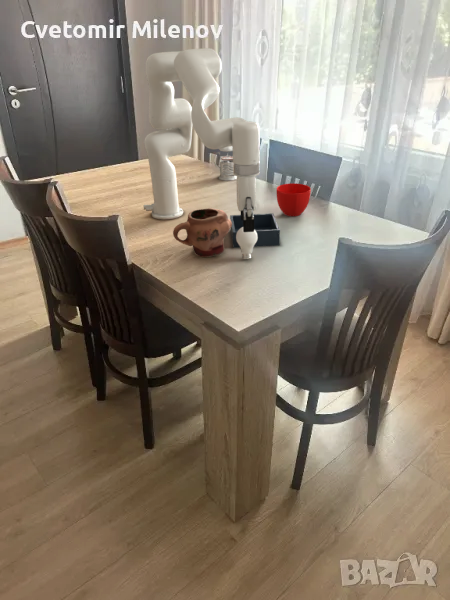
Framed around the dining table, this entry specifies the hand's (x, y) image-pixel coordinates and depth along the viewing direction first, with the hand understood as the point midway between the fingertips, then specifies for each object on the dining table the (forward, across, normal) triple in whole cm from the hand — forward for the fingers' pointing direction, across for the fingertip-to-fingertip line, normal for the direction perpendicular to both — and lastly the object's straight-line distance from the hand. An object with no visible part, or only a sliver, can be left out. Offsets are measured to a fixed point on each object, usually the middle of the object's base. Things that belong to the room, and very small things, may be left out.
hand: (247, 225), depth 134 cm
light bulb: (+12, 0, 0) cm, 12 cm away
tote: (+11, -17, +4) cm, 21 cm away
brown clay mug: (+12, -7, -14) cm, 19 cm away
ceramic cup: (+12, -40, +22) cm, 47 cm away
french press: (+11, -91, -2) cm, 92 cm away
